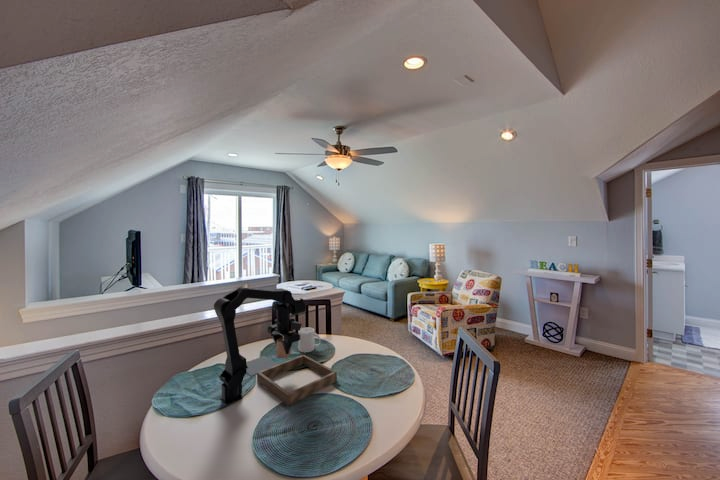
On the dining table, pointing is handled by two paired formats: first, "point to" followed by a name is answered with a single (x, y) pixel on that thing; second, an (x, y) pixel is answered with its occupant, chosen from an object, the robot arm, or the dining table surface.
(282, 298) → the robot arm
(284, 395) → the frame
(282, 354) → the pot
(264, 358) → the mat
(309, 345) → the mug
